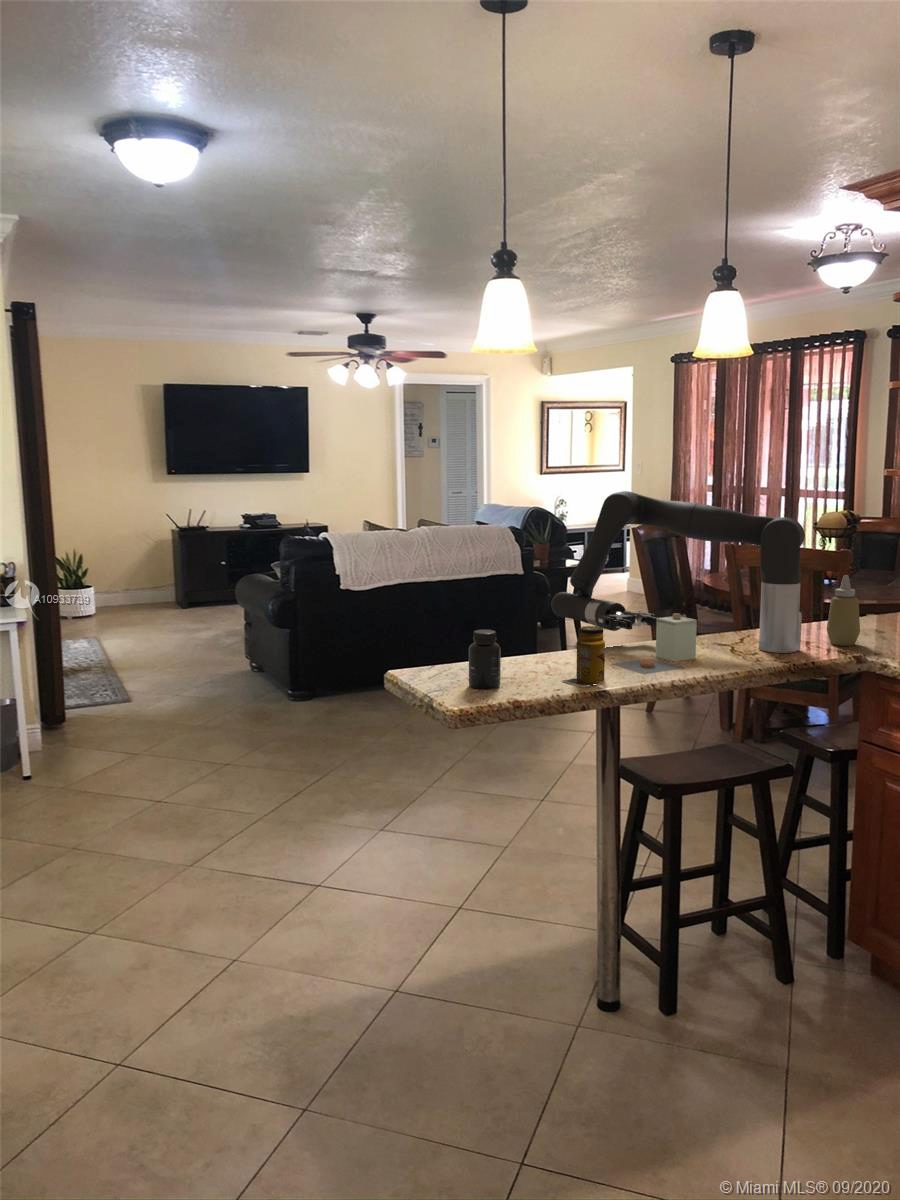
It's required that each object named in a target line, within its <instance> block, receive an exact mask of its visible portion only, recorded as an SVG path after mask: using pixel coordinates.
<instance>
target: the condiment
mask: <svg viewBox="0 0 900 1200" xmlns="http://www.w3.org/2000/svg"><path fill="white" fill-rule="evenodd" d="M605 641H606V640H604V629H603V628H601V627H596V626H594V625H591V626H590V625H589V626H581V627H579V629H578V639H577V641H576V673H575V674H576V675H575V676H576V678H570V679H562V680H560V681H561V682H563V683H566V684H569V685H572V686H576V687H578V688H589V687H592V686H591V685H593V684H599V682H603V681H604V680H605V670H606V669H605V666H606V665H605V662H606V661H605V660H606V658H605V657H606V656H605V655H606V642H605ZM586 685H589V686H586ZM593 687H596V686H595V685H594V686H593Z"/></svg>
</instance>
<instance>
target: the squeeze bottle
mask: <svg viewBox="0 0 900 1200" xmlns="http://www.w3.org/2000/svg"><path fill="white" fill-rule="evenodd" d="M842 576H843V577H842V579H841V583H840V586H839V588H835V593H834V594H835V596H833V597H832V598H831V599H830V605H829V612H828V616H827V617H828V618H827V625H826V632H827V636H828V639H829V643H830V644H832V645H835V646H839V647H840V646H841V647H842V646H843V647H848V646H849V647H850V646H854V645H856V642H857V640H858V638H859V636H860V633H861V624H860V622H861V621H860V604H859V601H860V600H859V599H858V598H857V597H855V596H856V589H854V588H851V582H850V576H849V574H845V575H842Z"/></svg>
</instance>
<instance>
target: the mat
mask: <svg viewBox="0 0 900 1200" xmlns="http://www.w3.org/2000/svg"><path fill="white" fill-rule="evenodd" d="M611 666H616V667H618V668H622V669H626V670H629V671H632V672H636V673H639V674H642V675H647V674H654V673H661V672H668V671H674V670H683V669H684V667H683V666H679V665H676V664H672V663H668V662H665V661H662V660H658V659H655V660H654V667H641V666H640V659H638V660H637V659H636V660H629V661H623V662H621V661H620V662H615V663H614V662H613V663H611Z"/></svg>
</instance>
